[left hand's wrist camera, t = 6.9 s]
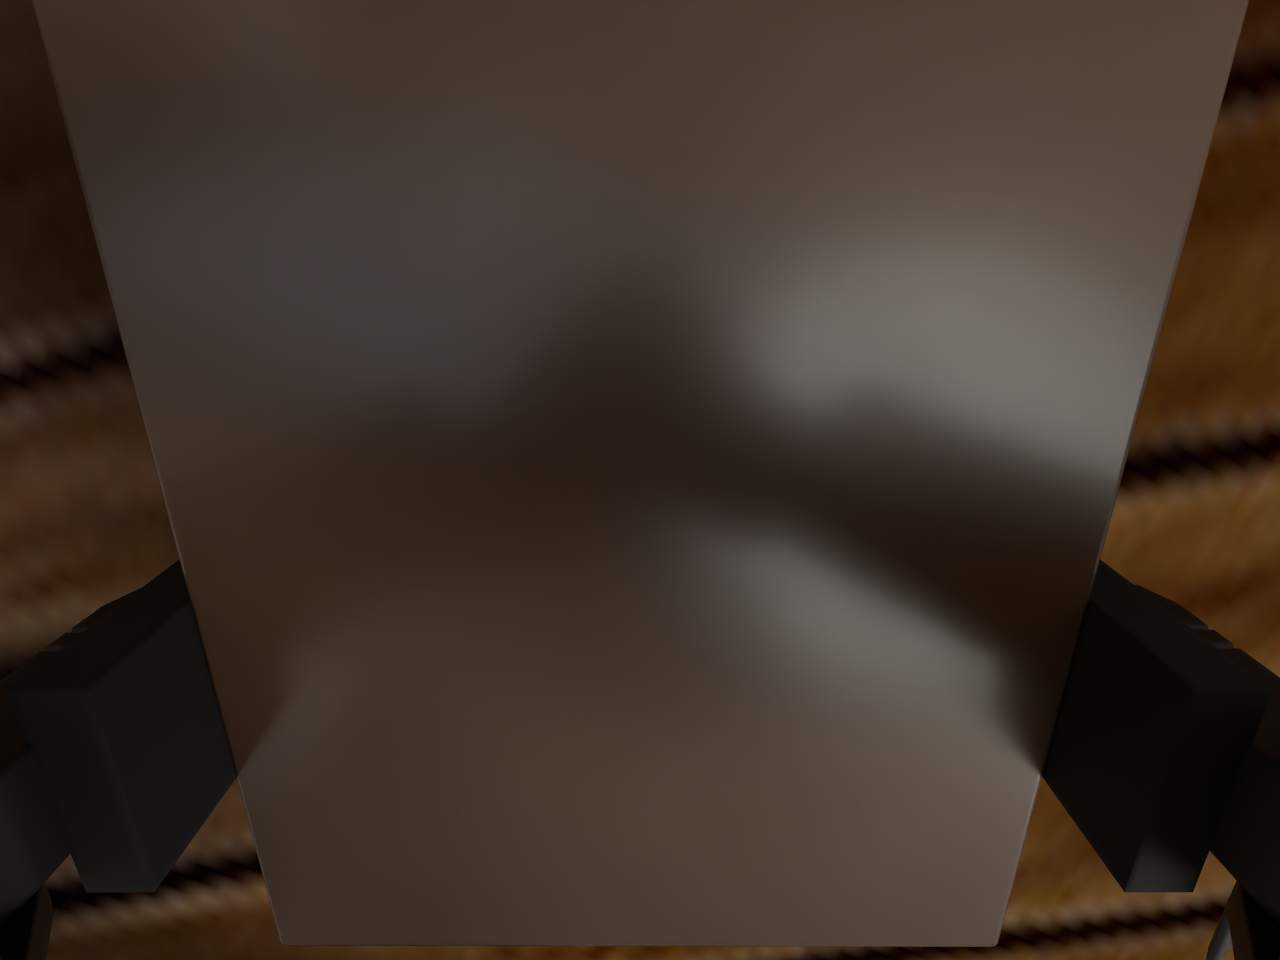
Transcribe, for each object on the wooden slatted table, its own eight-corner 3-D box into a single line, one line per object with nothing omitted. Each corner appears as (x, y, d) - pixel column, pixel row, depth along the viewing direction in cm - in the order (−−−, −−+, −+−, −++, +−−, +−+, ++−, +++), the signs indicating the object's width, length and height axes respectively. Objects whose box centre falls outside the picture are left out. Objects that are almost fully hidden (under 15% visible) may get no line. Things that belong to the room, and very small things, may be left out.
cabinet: (359, -202, 13) (-280, -1150, 4) (922, -201, 13) (1563, -1147, 4) (449, 603, 19) (279, 948, 10) (830, 604, 19) (998, 949, 10)
